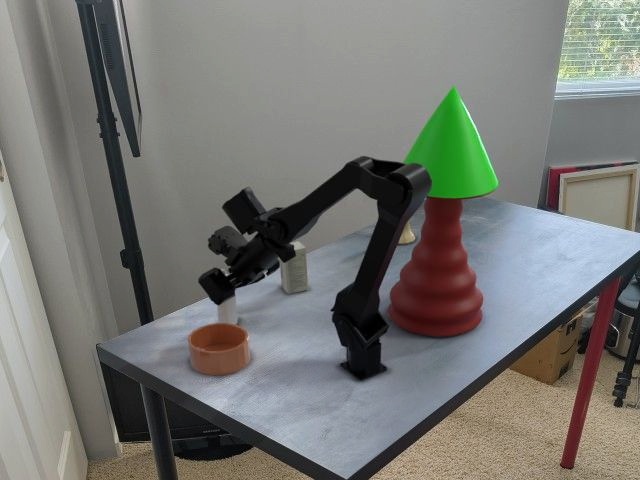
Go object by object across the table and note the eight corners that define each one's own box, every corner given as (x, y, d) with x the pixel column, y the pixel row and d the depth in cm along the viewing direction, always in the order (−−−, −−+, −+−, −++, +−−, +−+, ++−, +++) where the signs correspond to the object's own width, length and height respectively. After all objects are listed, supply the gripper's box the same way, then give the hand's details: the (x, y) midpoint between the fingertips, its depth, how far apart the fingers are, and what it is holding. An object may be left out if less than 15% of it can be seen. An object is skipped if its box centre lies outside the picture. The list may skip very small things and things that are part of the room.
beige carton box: (301, 282, 165) (299, 240, 159) (308, 290, 162) (307, 247, 156) (279, 286, 163) (277, 244, 157) (286, 294, 160) (284, 251, 154)
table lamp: (488, 301, 158) (517, 78, 132) (473, 345, 143) (502, 102, 116) (401, 289, 163) (412, 70, 137) (376, 329, 147) (383, 92, 121)
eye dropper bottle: (211, 325, 148) (204, 271, 141) (231, 315, 152) (226, 262, 145) (225, 332, 146) (219, 277, 139) (246, 322, 149) (241, 268, 142)
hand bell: (421, 238, 187) (426, 176, 178) (399, 247, 182) (402, 183, 173) (398, 229, 192) (401, 168, 182) (376, 237, 187) (378, 175, 178)
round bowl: (260, 362, 137) (259, 340, 134) (207, 381, 131) (205, 359, 128) (232, 339, 144) (229, 317, 141) (180, 356, 138) (177, 334, 136)
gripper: (264, 202, 140) (225, 245, 151) (199, 233, 127) (162, 277, 138) (299, 249, 141) (258, 288, 152) (239, 285, 128) (198, 324, 139)
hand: (220, 293), depth 146 cm, fingers closed on eye dropper bottle, 5 cm apart
